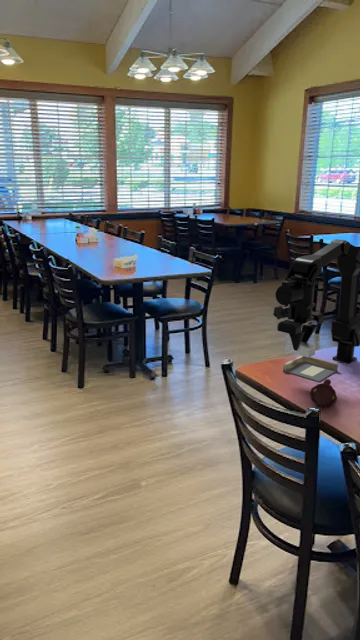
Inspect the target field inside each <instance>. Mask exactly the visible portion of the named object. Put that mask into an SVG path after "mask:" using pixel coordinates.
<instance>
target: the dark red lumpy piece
mask: <svg viewBox="0 0 360 640" xmlns="http://www.w3.org/2000/svg"><path fill="white" fill-rule="evenodd" d="M322 382H323V383H317V384H316V385H315V386H313V387H312V388H311V389H310V392H309V394H310V399H311V402H312V403H314V404H315V405H316V406H317V407H318V408H319V407H320V408H330V407H331V406H333V405H334V404H336V402H337V400H338V396H337V392H336V390H335V389H334V388H333V386H332V385H331V383H332V381H331V379H327V378H325V379H324V381H322Z"/></svg>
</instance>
